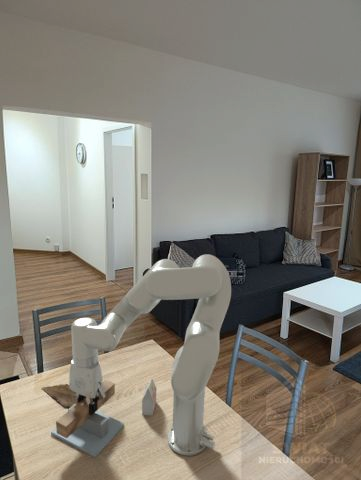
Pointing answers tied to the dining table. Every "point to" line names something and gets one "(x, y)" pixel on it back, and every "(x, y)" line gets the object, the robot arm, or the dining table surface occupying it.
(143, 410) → the grey pointed block
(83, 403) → the walnut bar
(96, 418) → the ridge stand
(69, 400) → the wooden fragment
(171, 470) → the dining table surface
